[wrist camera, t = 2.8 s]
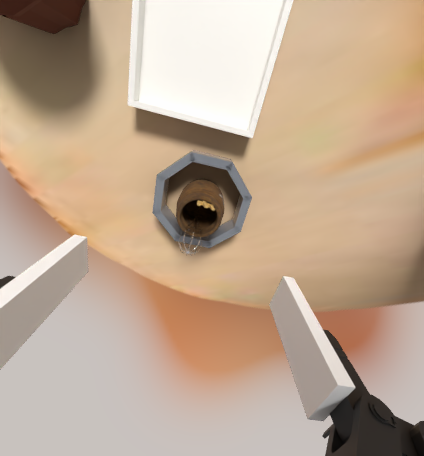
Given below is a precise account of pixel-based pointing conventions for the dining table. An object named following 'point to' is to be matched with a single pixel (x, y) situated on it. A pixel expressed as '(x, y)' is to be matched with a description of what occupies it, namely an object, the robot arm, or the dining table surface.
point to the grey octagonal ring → (171, 221)
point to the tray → (205, 59)
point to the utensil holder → (199, 209)
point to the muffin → (43, 13)
